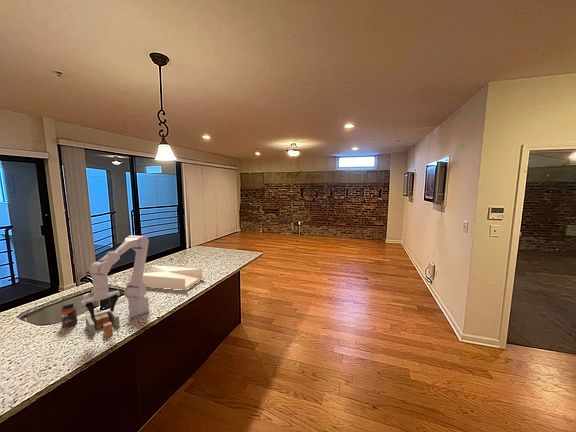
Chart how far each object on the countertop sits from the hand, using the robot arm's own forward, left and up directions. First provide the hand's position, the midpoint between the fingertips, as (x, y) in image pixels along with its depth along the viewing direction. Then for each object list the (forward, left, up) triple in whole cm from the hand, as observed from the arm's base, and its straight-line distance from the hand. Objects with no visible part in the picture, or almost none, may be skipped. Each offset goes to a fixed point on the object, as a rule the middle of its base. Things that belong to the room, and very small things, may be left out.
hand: (102, 314), depth 117 cm
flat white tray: (-48, -45, -11) cm, 67 cm away
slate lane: (-1, -8, -10) cm, 13 cm away
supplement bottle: (+10, -23, -10) cm, 27 cm away
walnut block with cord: (-1, -5, -10) cm, 11 cm away
